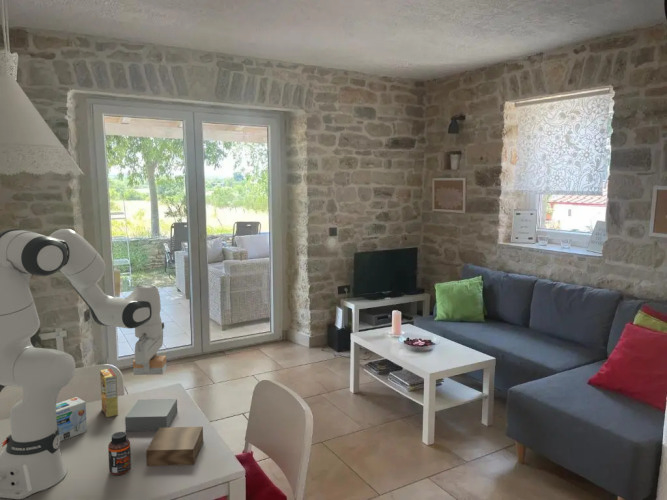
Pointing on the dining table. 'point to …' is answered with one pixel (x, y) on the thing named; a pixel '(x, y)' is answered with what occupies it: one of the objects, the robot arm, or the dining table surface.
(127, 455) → the supplement bottle
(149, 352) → the robot arm
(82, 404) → the light bulb box
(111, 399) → the candy box
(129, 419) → the stand
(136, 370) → the housing base
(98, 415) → the dining table surface
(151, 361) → the cover
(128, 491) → the dining table surface
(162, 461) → the stand
